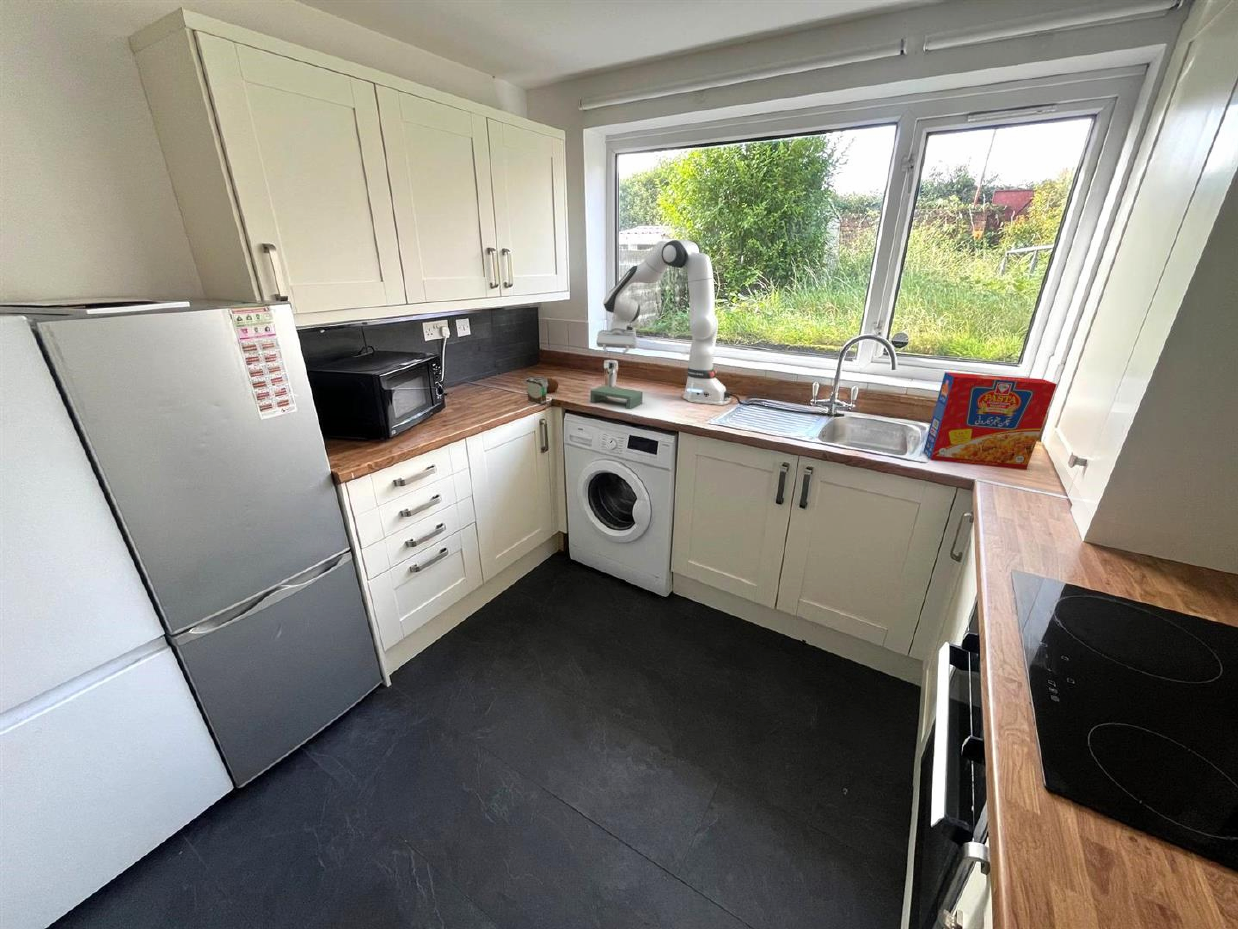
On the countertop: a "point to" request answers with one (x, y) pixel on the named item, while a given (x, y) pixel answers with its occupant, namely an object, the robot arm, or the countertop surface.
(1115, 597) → the countertop surface
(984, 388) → the pasta box
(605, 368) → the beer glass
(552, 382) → the potato
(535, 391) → the food container
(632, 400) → the shelf
